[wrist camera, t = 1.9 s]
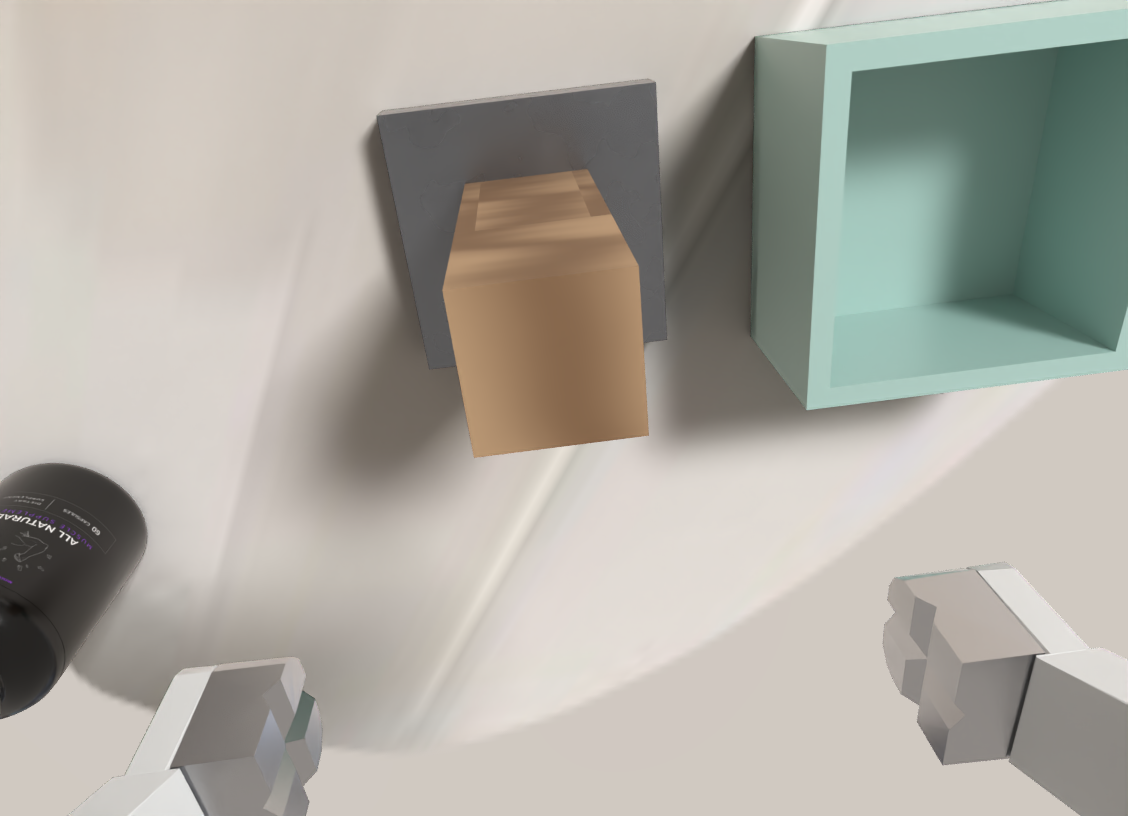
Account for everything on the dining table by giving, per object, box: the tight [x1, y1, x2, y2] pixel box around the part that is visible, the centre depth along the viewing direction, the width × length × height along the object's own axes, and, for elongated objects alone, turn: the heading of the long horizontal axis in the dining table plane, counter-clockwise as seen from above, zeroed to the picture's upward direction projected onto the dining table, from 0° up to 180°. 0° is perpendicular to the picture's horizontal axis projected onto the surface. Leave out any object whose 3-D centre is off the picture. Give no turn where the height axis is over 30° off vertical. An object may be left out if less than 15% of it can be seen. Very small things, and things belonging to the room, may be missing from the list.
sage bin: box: [751, 0, 1128, 410], centre depth 28 cm, size 12×12×7 cm
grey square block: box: [377, 79, 667, 369], centre depth 27 cm, size 10×10×8 cm
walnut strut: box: [442, 169, 649, 458], centre depth 24 cm, size 5×5×12 cm
